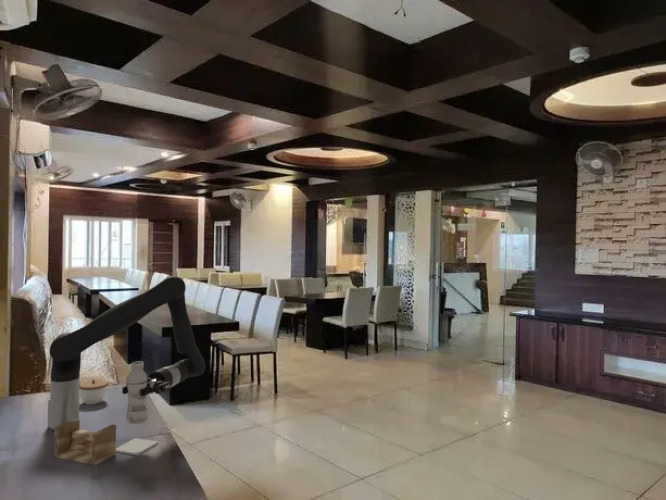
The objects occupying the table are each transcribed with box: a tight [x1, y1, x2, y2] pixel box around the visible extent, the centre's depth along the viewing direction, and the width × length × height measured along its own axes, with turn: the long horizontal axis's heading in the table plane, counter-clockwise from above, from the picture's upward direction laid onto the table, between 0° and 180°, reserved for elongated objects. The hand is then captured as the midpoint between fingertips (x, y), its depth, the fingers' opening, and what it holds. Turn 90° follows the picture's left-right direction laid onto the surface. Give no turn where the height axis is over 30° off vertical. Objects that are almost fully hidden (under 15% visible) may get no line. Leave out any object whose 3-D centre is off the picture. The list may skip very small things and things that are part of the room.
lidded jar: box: [79, 379, 108, 406], centre depth 203 cm, size 11×11×9 cm
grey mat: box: [116, 437, 159, 456], centre depth 159 cm, size 9×10×1 cm
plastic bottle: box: [125, 361, 149, 426], centre depth 159 cm, size 6×7×20 cm
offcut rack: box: [53, 418, 117, 466], centre depth 152 cm, size 16×8×9 cm, turn 73°
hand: (132, 392), depth 157 cm, fingers closed on plastic bottle, 6 cm apart
